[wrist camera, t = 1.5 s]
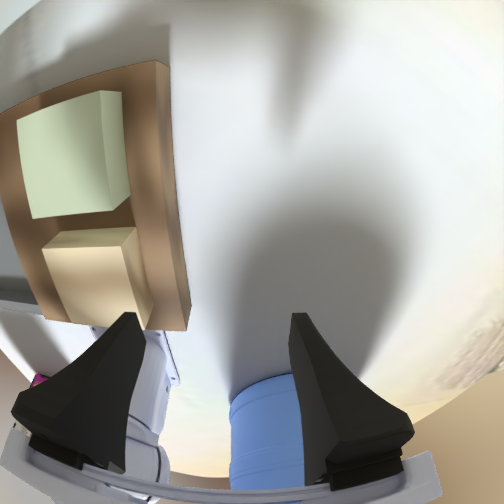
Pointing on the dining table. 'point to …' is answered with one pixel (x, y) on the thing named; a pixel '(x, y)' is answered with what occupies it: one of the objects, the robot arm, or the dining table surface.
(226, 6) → the dining table surface
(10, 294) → the tray
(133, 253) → the ash block
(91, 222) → the walnut board
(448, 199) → the dining table surface
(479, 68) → the dining table surface
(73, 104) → the sage tile
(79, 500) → the robot arm
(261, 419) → the water jug
